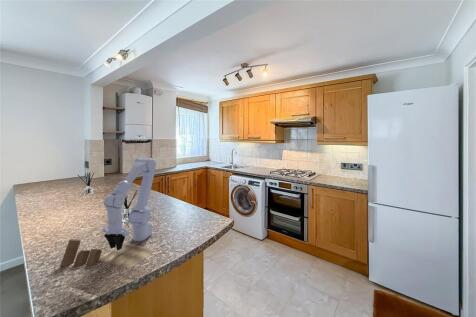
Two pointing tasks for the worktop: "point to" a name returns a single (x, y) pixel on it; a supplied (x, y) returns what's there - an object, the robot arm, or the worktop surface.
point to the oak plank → (116, 252)
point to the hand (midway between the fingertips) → (116, 248)
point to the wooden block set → (79, 254)
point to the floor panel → (133, 260)
